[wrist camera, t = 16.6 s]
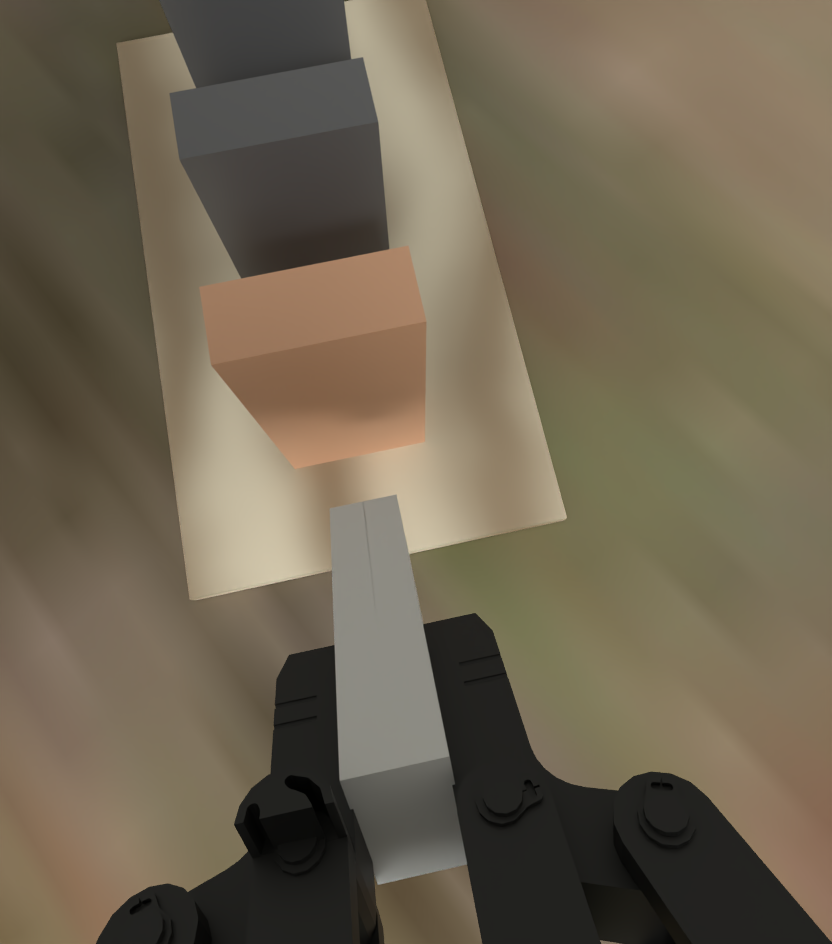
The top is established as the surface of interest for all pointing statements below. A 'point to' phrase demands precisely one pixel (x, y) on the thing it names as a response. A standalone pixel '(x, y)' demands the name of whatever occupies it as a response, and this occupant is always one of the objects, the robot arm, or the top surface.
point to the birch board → (447, 337)
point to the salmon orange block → (325, 354)
